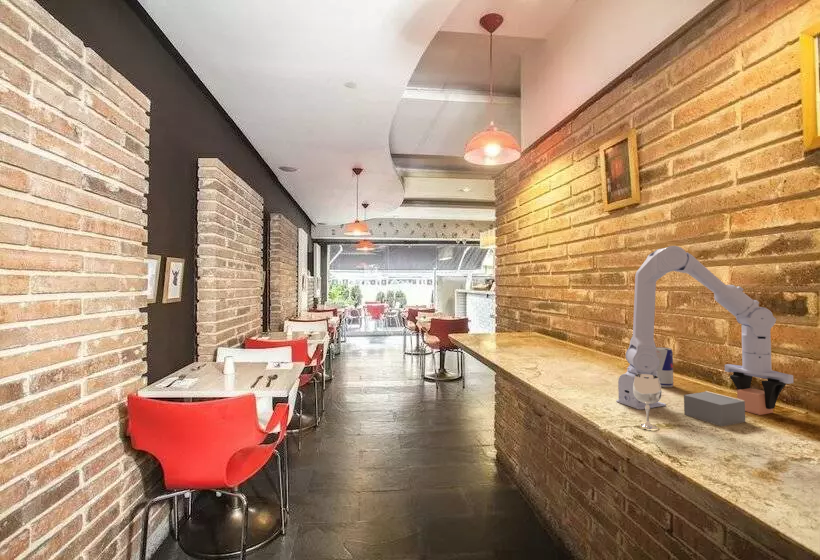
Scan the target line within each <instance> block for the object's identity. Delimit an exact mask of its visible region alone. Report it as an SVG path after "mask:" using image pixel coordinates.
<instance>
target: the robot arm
mask: <svg viewBox="0 0 820 560" xmlns="http://www.w3.org/2000/svg"><path fill="white" fill-rule="evenodd" d="M671 272H676V273H677V272H678V273H682V274H687V275H689V276H691V277H692V278H693V279H695V280H696V281H697V282H698V283H700V284H701V285H703V287H705V288H707V290H710V291H711V292H712V293H713V297H714V301H716V303H718V304H719V305H720V306H721V307H723V308H724V309H725V310H727V311H728V312H729V313H730V314H731V315H732V316H734V317H735V319H736V321H737V323H738V324H741V325H740V326H741V357H742V358H741V360H742V361H741V363H742V365H737V364H731V363H727V364H724V372H725V373H726V372H727V373H732V374H730V377H729V378H730V379H731V381H732V382H733V384H734V385H735V387H736V389H737V390H740V389H747V388H751V385H752V381H753V377H754V378H758V379H759V378H760V379H765V380H761V385H762V389H763V391H764V393H765V405H766V408H767V409H773V410H774V409H775V407H776V404H777V400H778V398H779V395H780V394H781V392H782V391H783V390H784V388H785V386H786V385H788V384H789V385H790V384H794V375H793V374H788V373H783V372H779V371H776V370H773V369H772V368H773V366H772V341H771V340H772V339H771V338H772V336H771V329H772V328H773V327H774V326H775V325H776V323H777V322H776V321H777V318H776V317H775V316H774V315H773V312H772V311H771V310H770V309H768V308H767V307H763V306H760V302H759V301H758V300H757V299H753V298H751V297H750V296H749V295H747V294H746V293H745V292H744V291H745V289H744V288H743V287H742V286H739V285H738V286H736V285H734V284H725V283H724V282H723V281H722V280H721V279H720V278H718V277H717V276H716V275H715V274H714V273H713V272H711V270H709V269H708V268H707V267H706V266H705V265H703V264H702V263H701V261H699V260H698V259H697V258H696V257H695V256H694V255H692V254H691V253H690V252H688V251H687V252H686V250H685V249H684V248H682V247H681V246H678V245H669V246H667V247H662V248H657V249H656V250H654V251H652V252H651V253H650V254H648V255H647V256H646V259H645V260H644V262H643V263H642V264H641V265H640V267H639V268H638V269H637V271H635V275H634V277H635V278H634V295H633V296H634V299H633V300H634V301H633V318H632V319H633V321H632V323H633V325H632V337H630V341H629V347H628V348H627V350H626V351H625V360H626V362H628V364H629V365H628V367H626V370H627V371H626V372H625V373H623V374H620V376H619V377H618V382H617V383H618V391H617V392H618V399H616V400H615V401H616V402H617V403H620V404H622V405H625V406H629V407H631V408H634V409H637V410H639V411H640V410H645V405H646V404H645V403H642V402H640V401H639V400H637V399H636V398H635V396H634V394H633V383H634V379H635V375H637V374H649V375H655V376H657V368H658V367H659V358H658V356H657V355H656V343H655V339H654V338H655V337H654V334H655V317H656V316H655V313H656V312H655V311H656V291H657V287H656V286H657V281H659V279H661V278H663V277H664V276H665V275H667V274H668V273H671ZM737 390H736V391H737ZM649 406H650V409H653V408H659V407H666V406H667V404H666V403H664V402H661V401H658V402H656V403H653V404H649Z"/></svg>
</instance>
